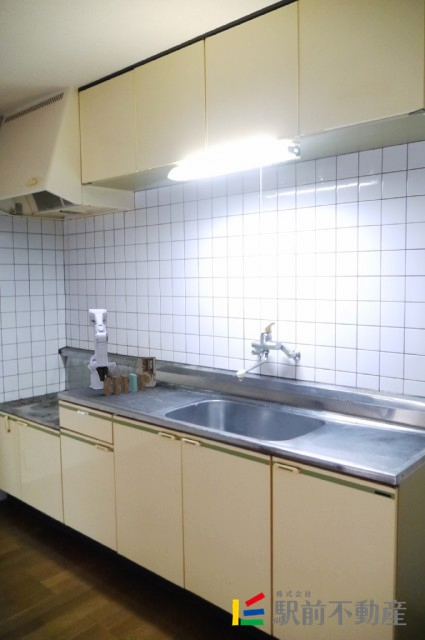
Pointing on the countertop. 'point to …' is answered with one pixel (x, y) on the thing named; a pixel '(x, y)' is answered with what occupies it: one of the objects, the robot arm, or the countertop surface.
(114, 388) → the domino
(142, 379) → the domino
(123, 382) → the domino
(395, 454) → the countertop surface
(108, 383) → the domino
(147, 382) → the coffee box
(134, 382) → the domino
